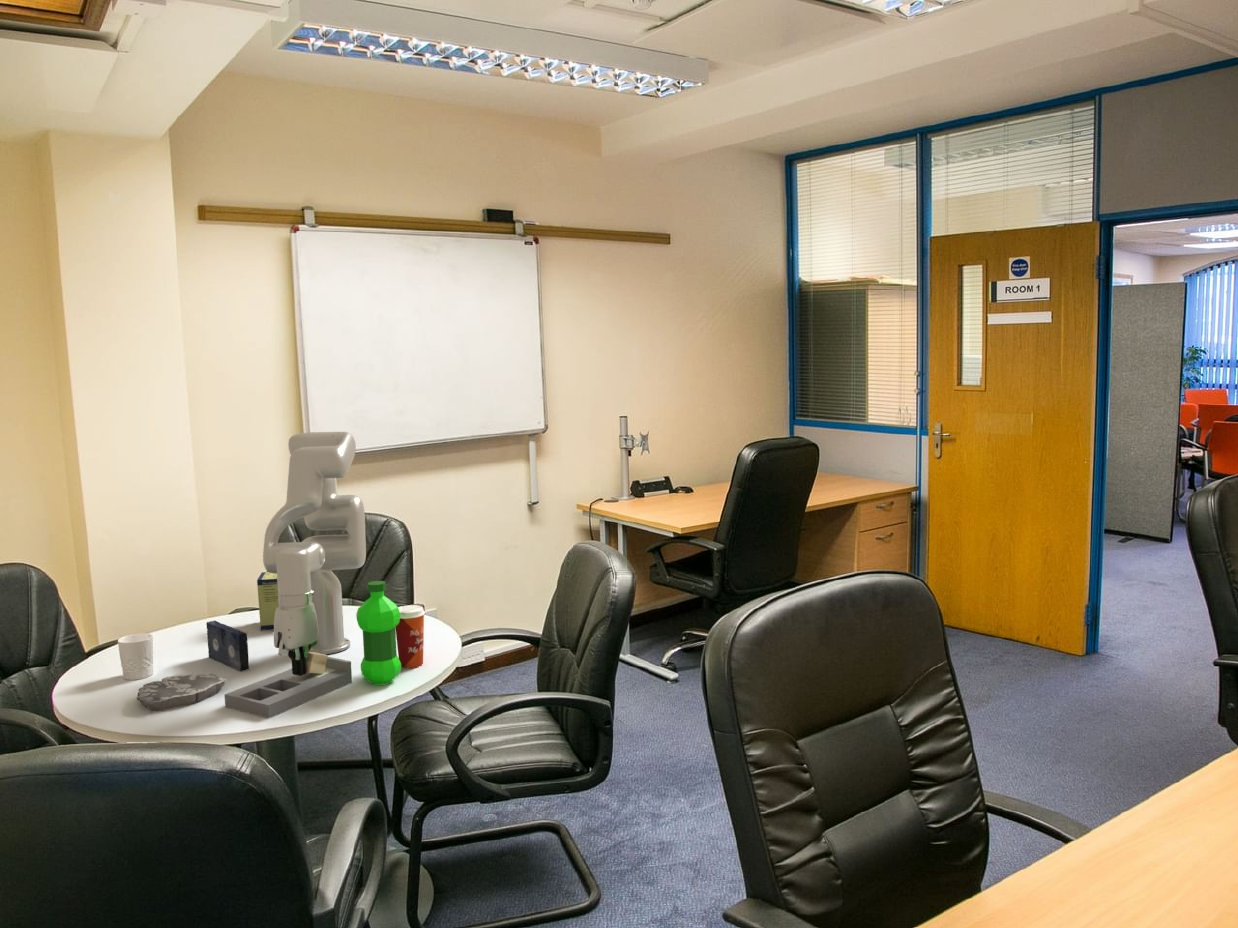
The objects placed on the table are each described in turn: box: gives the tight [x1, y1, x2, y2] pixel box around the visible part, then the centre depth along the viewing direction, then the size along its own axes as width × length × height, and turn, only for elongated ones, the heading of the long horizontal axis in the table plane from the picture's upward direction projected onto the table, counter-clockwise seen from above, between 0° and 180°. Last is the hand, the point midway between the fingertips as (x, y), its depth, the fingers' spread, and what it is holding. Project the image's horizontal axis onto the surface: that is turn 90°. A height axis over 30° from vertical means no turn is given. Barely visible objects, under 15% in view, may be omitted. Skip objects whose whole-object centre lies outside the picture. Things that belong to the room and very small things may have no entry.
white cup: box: [117, 632, 154, 681], centre depth 237 cm, size 8×8×10 cm
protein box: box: [256, 571, 279, 631], centre depth 281 cm, size 10×16×16 cm
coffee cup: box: [395, 604, 426, 669], centre depth 241 cm, size 8×8×15 cm
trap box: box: [224, 656, 353, 719], centre depth 222 cm, size 15×25×6 cm, turn 150°
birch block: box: [306, 652, 329, 674], centre depth 227 cm, size 4×4×4 cm
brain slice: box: [136, 673, 226, 712], centre depth 222 cm, size 20×17×3 cm
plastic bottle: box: [355, 580, 402, 686], centre depth 228 cm, size 10×10×25 cm
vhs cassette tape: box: [205, 620, 250, 672], centre depth 245 cm, size 18×3×10 cm, turn 47°
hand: (299, 673), depth 224 cm, fingers closed
